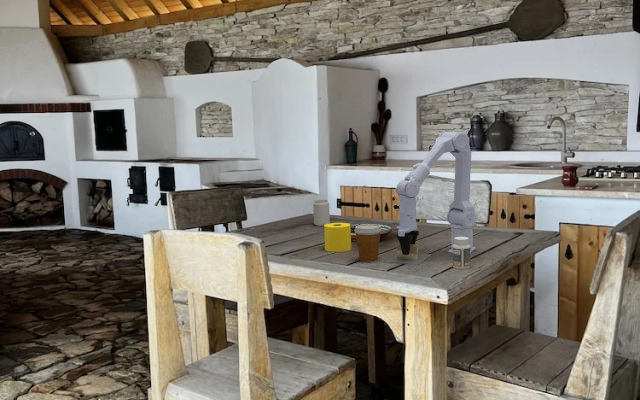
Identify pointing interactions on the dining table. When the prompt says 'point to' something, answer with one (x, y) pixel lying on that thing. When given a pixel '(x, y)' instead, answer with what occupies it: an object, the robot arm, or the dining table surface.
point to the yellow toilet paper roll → (337, 237)
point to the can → (321, 212)
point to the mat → (409, 261)
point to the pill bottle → (461, 253)
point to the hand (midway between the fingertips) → (408, 252)
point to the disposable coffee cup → (368, 241)
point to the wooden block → (412, 254)
